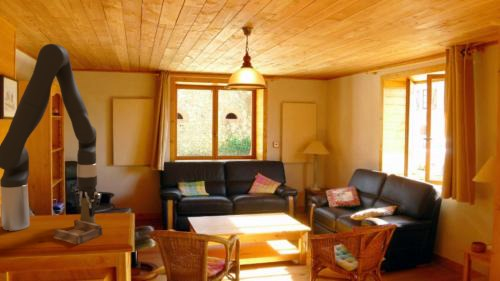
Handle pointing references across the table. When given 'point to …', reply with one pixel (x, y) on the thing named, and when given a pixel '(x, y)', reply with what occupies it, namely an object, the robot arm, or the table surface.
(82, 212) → the cork
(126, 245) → the table surface
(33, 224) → the table surface
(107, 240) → the table surface
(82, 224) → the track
